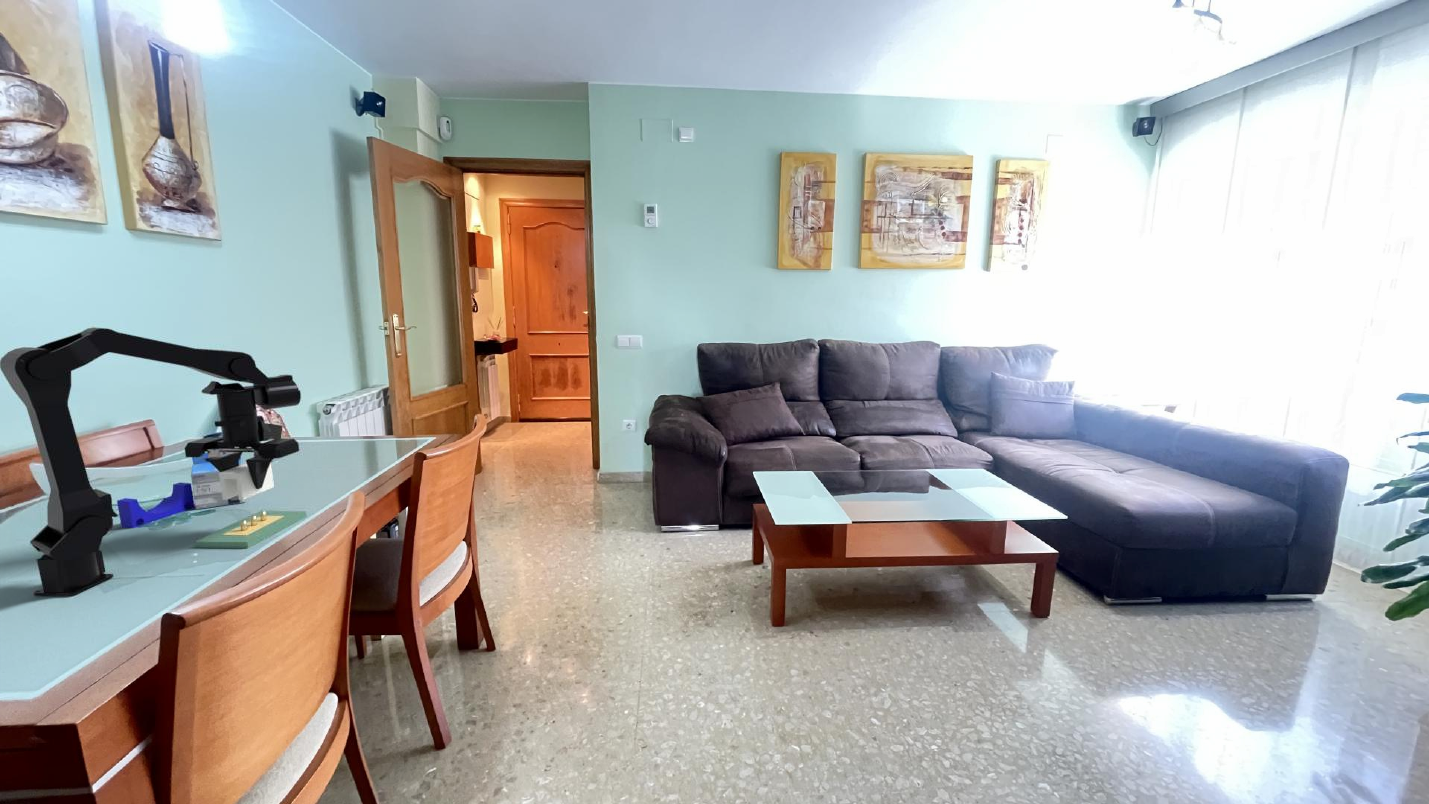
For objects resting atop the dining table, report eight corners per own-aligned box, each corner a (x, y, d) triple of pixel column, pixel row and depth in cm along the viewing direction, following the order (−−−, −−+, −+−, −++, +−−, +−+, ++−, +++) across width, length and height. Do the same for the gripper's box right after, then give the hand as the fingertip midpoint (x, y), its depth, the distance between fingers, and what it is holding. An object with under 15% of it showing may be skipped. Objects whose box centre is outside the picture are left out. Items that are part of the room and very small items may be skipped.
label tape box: (195, 510, 126) (186, 458, 124) (198, 504, 130) (190, 453, 127) (245, 503, 131) (238, 452, 129) (247, 497, 134) (240, 448, 132)
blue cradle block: (178, 506, 129) (174, 482, 128) (194, 508, 128) (191, 483, 127) (115, 527, 117) (110, 500, 116) (133, 529, 116) (128, 501, 115)
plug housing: (243, 500, 110) (239, 473, 109) (222, 499, 110) (218, 473, 109) (274, 486, 118) (270, 461, 117) (255, 486, 118) (251, 461, 117)
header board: (248, 548, 108) (245, 532, 108) (196, 547, 108) (193, 531, 107) (306, 516, 124) (304, 502, 123) (261, 515, 124) (259, 502, 123)
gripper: (313, 407, 119) (321, 476, 122) (225, 405, 119) (235, 475, 122) (273, 417, 108) (283, 494, 111) (176, 416, 108) (188, 492, 111)
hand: (248, 488), depth 114 cm, fingers closed on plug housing, 4 cm apart
